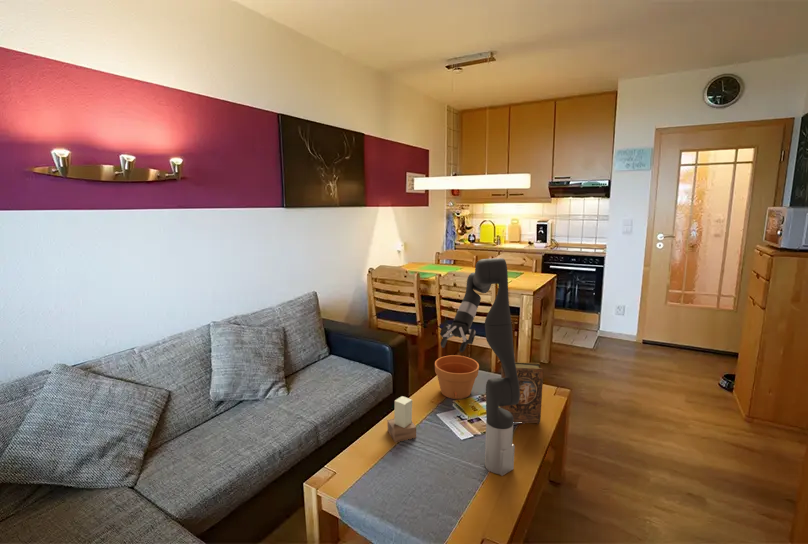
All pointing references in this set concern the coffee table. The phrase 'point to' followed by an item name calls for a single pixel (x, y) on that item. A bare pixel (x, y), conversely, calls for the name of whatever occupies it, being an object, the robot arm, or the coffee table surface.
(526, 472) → the coffee table surface
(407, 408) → the cream rectangular block
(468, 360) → the flower pot
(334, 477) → the coffee table surface
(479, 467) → the coffee table surface
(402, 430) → the walnut base block
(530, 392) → the book
